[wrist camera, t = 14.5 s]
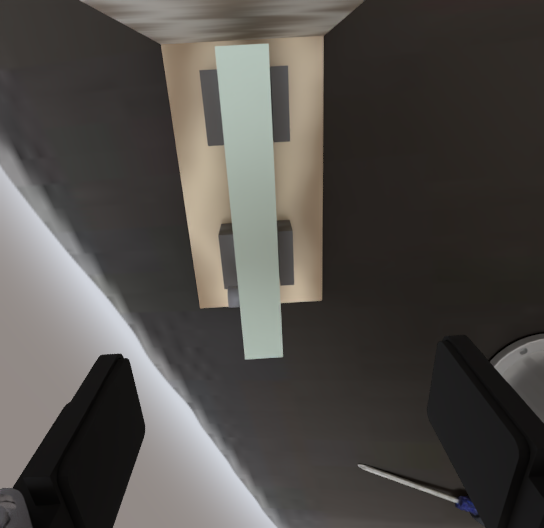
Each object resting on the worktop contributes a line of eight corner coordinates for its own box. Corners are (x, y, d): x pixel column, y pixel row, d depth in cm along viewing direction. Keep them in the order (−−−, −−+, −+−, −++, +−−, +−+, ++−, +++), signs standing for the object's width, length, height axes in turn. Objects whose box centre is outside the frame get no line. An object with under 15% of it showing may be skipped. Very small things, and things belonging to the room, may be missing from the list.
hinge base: (320, 15, 29) (429, -115, 11) (319, 293, 38) (375, 463, 21) (162, 23, 28) (6, -96, 11) (202, 300, 38) (156, 479, 20)
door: (263, 63, 28) (268, 43, 17) (274, 276, 36) (282, 356, 25) (214, 65, 28) (188, 47, 17) (235, 279, 36) (227, 360, 25)
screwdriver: (350, 471, 50) (357, 499, 47) (364, 453, 49) (372, 480, 45) (504, 515, 55) (520, 542, 52) (520, 499, 54) (538, 527, 51)
